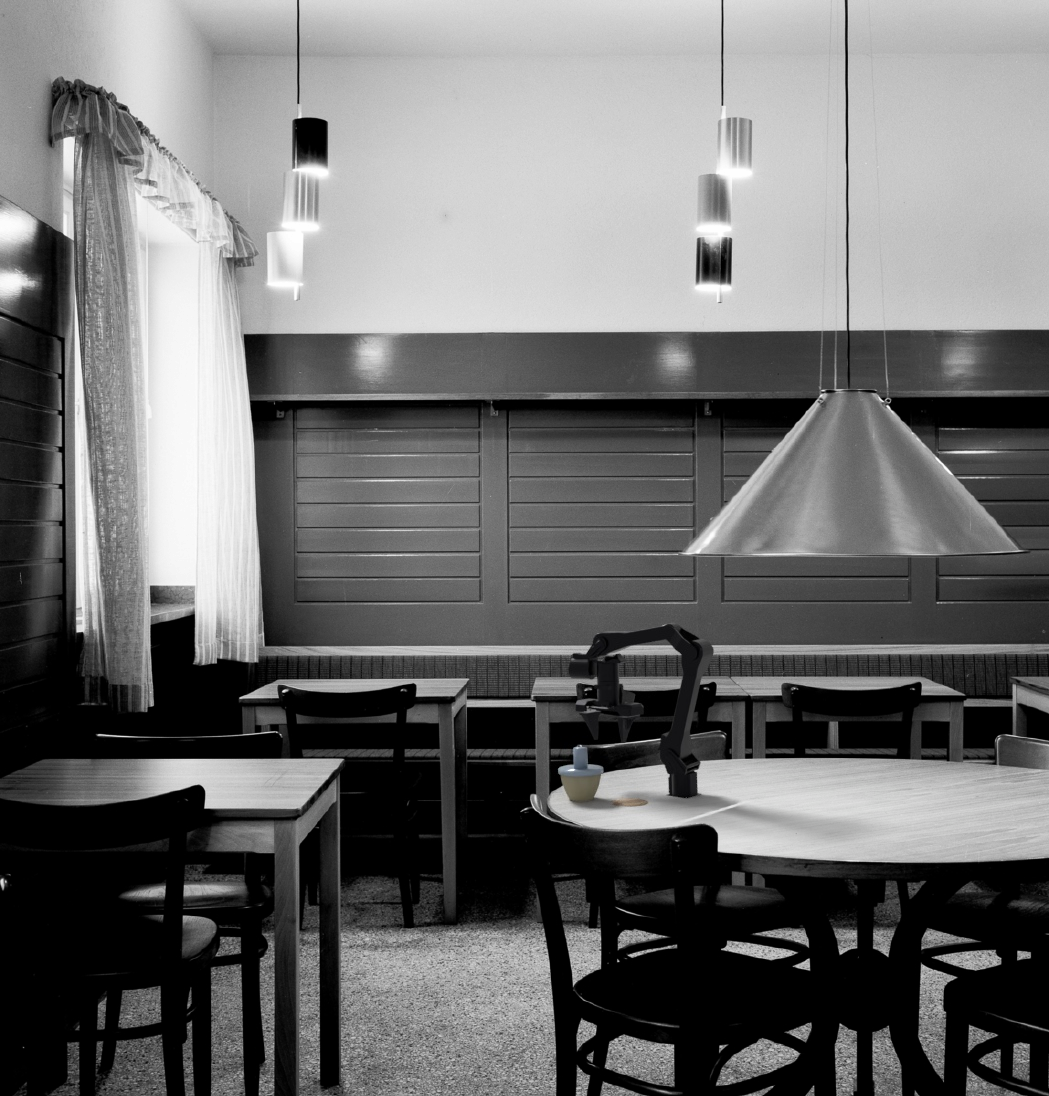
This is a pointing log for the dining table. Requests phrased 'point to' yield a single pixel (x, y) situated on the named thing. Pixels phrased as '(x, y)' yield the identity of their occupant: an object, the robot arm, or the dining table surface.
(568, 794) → the flower pot
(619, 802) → the disc
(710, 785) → the dining table surface
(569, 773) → the lid
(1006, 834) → the dining table surface
